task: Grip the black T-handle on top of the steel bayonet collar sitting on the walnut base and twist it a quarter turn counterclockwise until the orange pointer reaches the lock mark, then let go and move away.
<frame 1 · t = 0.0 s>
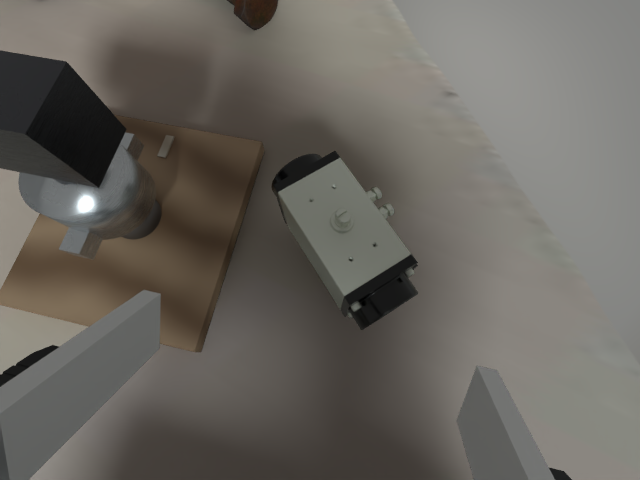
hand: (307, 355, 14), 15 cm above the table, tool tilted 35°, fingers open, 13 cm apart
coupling: (52, 155, 22), point 12 cm above the table, hinge at 0.0°
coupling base: (145, 222, 33), on the table
pneumatic valve: (341, 264, 31), on the table
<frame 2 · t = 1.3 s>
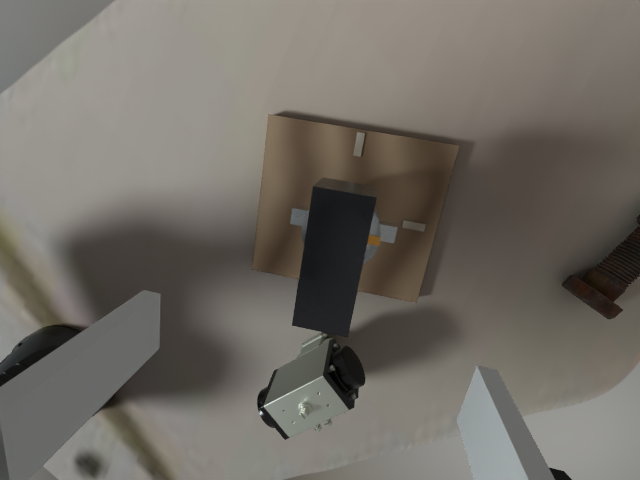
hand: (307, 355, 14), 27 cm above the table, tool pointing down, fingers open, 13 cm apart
bolt: (625, 241, 37), on the table
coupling: (339, 239, 29), point 12 cm above the table, hinge at 0.0°
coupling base: (347, 210, 40), on the table
pneumatic valve: (321, 348, 46), on the table
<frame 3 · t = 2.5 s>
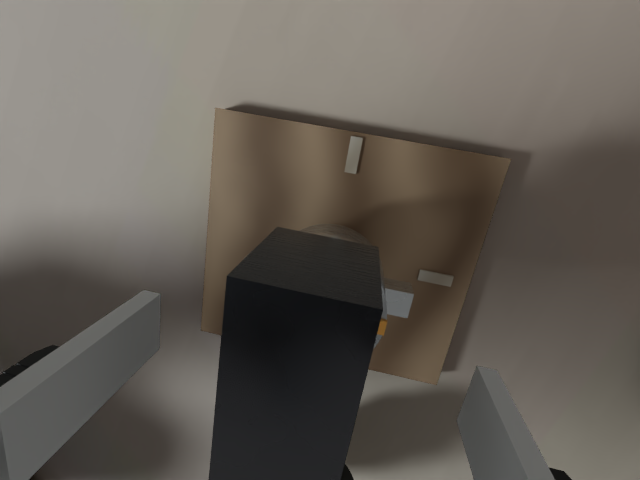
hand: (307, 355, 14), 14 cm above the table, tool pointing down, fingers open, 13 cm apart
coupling: (312, 329, 16), point 12 cm above the table, hinge at 0.0°
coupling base: (336, 250, 27), on the table
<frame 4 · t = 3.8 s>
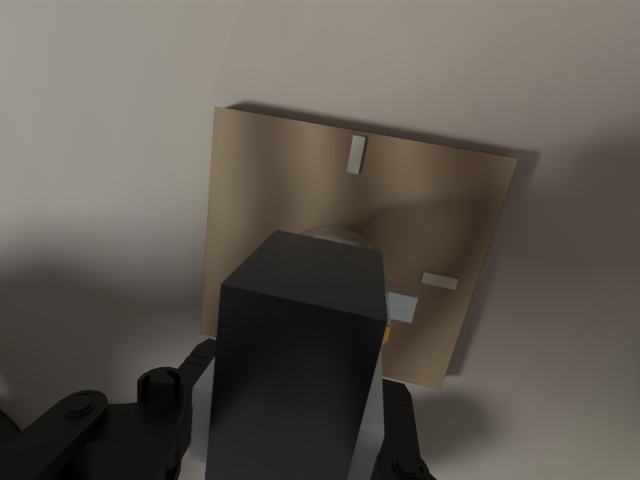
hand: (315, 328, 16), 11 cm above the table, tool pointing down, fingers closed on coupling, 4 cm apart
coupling: (313, 334, 16), point 12 cm above the table, hinge at 0.0°, touching gripper
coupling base: (337, 252, 27), on the table
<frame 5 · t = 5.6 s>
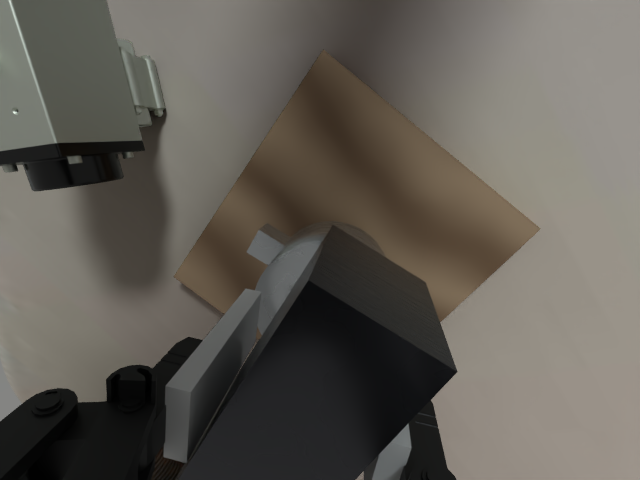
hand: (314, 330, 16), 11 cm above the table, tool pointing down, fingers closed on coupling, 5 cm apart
bolt: (185, 459, 36), on the table
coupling: (316, 331, 15), point 12 cm above the table, hinge at 96.3°, touching gripper
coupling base: (339, 248, 26), on the table
pneumatic valve: (138, 90, 25), on the table
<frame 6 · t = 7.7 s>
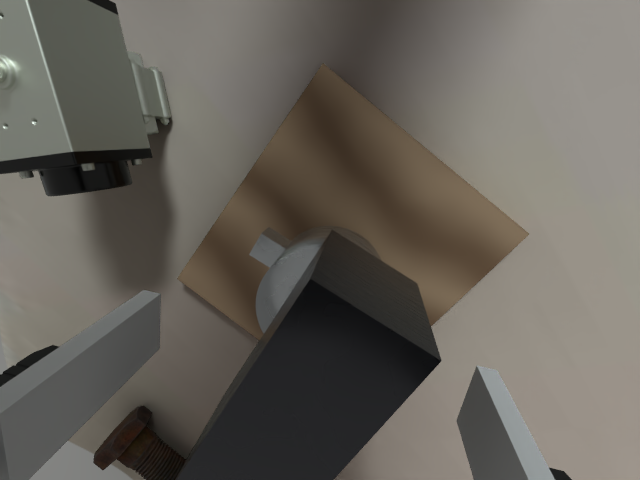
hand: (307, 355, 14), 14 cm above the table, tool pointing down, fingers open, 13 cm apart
bolt: (187, 455, 37), on the table
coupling: (315, 329, 16), point 12 cm above the table, hinge at 96.2°
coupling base: (338, 252, 27), on the table
pneumatic valve: (145, 99, 26), on the table
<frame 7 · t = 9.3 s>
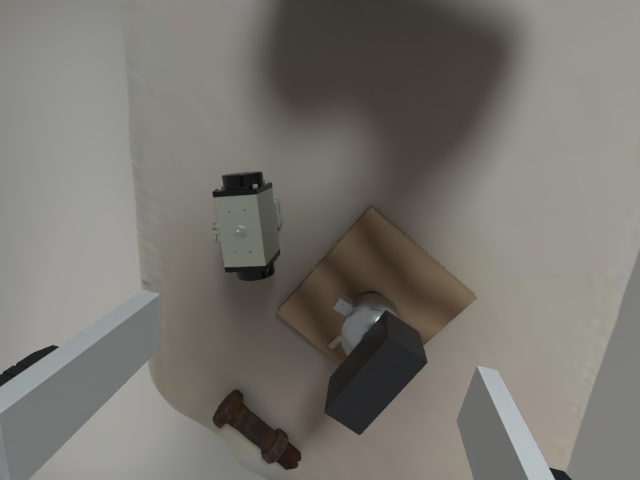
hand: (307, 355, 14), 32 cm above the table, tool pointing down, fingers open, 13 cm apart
bolt: (264, 421, 56), on the table
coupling: (372, 348, 37), point 12 cm above the table, hinge at 96.2°
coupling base: (371, 301, 48), on the table
pneumatic valve: (265, 212, 47), on the table
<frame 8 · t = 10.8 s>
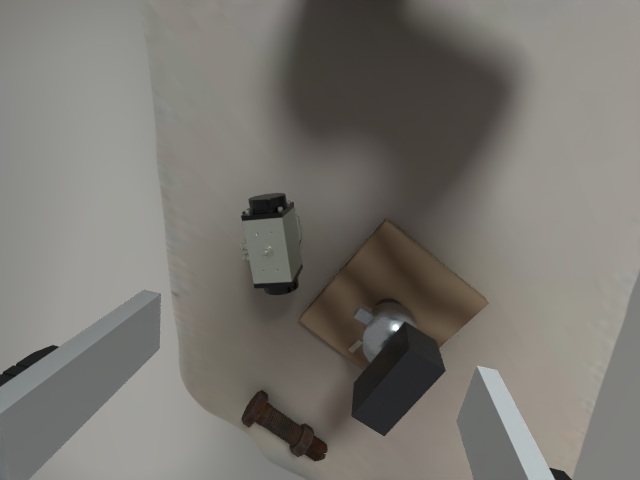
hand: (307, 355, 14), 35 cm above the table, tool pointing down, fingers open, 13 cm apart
bolt: (290, 418, 60), on the table
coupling: (392, 355, 40), point 12 cm above the table, hinge at 96.2°
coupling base: (388, 307, 51), on the table
pneumatic valve: (286, 227, 50), on the table
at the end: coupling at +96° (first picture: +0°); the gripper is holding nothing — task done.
